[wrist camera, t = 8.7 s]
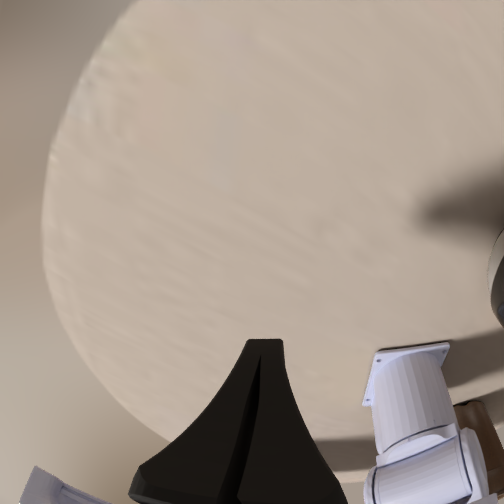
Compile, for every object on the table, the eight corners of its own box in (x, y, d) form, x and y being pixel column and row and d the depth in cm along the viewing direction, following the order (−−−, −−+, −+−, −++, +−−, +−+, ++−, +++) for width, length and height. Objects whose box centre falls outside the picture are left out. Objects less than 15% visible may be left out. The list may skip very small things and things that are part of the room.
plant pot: (509, 398, 30) (534, 480, 16) (437, 448, 38) (448, 523, 24) (466, 381, 27) (498, 495, 14) (379, 440, 35) (385, 537, 22)
